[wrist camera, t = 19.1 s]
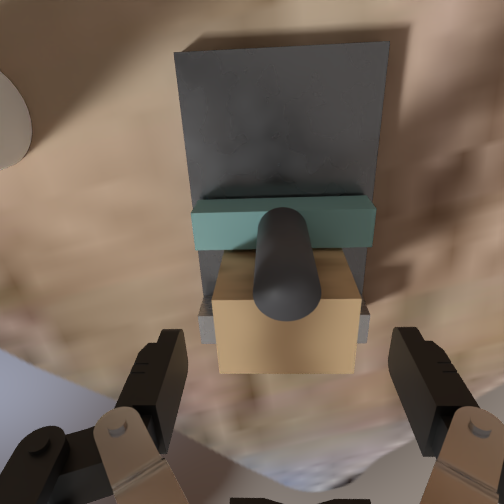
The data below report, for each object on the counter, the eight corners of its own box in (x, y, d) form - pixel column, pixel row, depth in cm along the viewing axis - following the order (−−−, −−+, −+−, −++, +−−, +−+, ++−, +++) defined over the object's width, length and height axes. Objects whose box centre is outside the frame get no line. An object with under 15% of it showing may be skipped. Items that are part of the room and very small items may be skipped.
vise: (209, 311, 30) (201, 343, 27) (179, 53, 22) (161, 50, 18) (355, 310, 30) (366, 343, 26) (382, 42, 21) (405, 37, 18)
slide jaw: (202, 237, 25) (168, 322, 17) (197, 196, 24) (157, 265, 16) (362, 234, 25) (410, 320, 16) (366, 191, 23) (421, 261, 15)
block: (232, 295, 28) (219, 373, 21) (228, 235, 26) (211, 300, 18) (331, 294, 27) (353, 373, 20) (335, 233, 25) (361, 298, 18)
